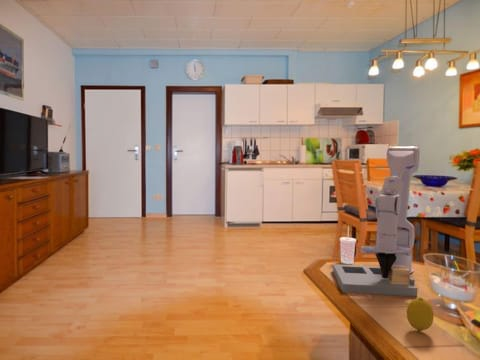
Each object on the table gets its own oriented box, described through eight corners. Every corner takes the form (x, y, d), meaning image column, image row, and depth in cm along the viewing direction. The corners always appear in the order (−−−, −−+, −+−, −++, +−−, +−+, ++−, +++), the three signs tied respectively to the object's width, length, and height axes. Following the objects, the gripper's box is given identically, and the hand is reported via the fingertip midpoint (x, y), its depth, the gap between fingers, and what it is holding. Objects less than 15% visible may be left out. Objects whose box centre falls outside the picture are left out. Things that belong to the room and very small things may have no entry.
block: (387, 277, 114) (387, 264, 114) (403, 278, 114) (404, 265, 113) (392, 282, 109) (392, 269, 109) (409, 283, 109) (410, 270, 108)
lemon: (436, 338, 81) (438, 303, 80) (409, 335, 82) (411, 301, 81) (428, 327, 86) (430, 294, 85) (403, 324, 87) (404, 292, 87)
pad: (384, 276, 115) (384, 276, 115) (402, 277, 115) (402, 277, 115) (391, 284, 108) (391, 283, 108) (410, 285, 108) (410, 284, 108)
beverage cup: (349, 265, 135) (350, 228, 134) (335, 261, 139) (336, 225, 138) (358, 262, 138) (360, 226, 137) (345, 259, 143) (346, 223, 142)
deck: (332, 271, 127) (333, 260, 127) (395, 274, 125) (395, 262, 125) (342, 292, 107) (343, 279, 107) (417, 296, 105) (417, 282, 105)
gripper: (365, 235, 108) (363, 280, 109) (416, 237, 106) (414, 283, 107) (360, 230, 115) (358, 273, 116) (407, 232, 113) (405, 275, 114)
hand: (384, 277), depth 112 cm, fingers closed
